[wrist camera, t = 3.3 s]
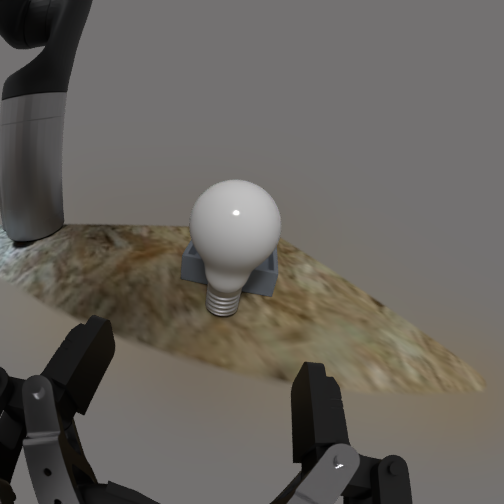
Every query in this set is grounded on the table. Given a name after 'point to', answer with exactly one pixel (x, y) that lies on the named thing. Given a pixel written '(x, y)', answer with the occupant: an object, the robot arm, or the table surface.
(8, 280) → the table surface
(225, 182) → the lightbulb
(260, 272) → the walled box
